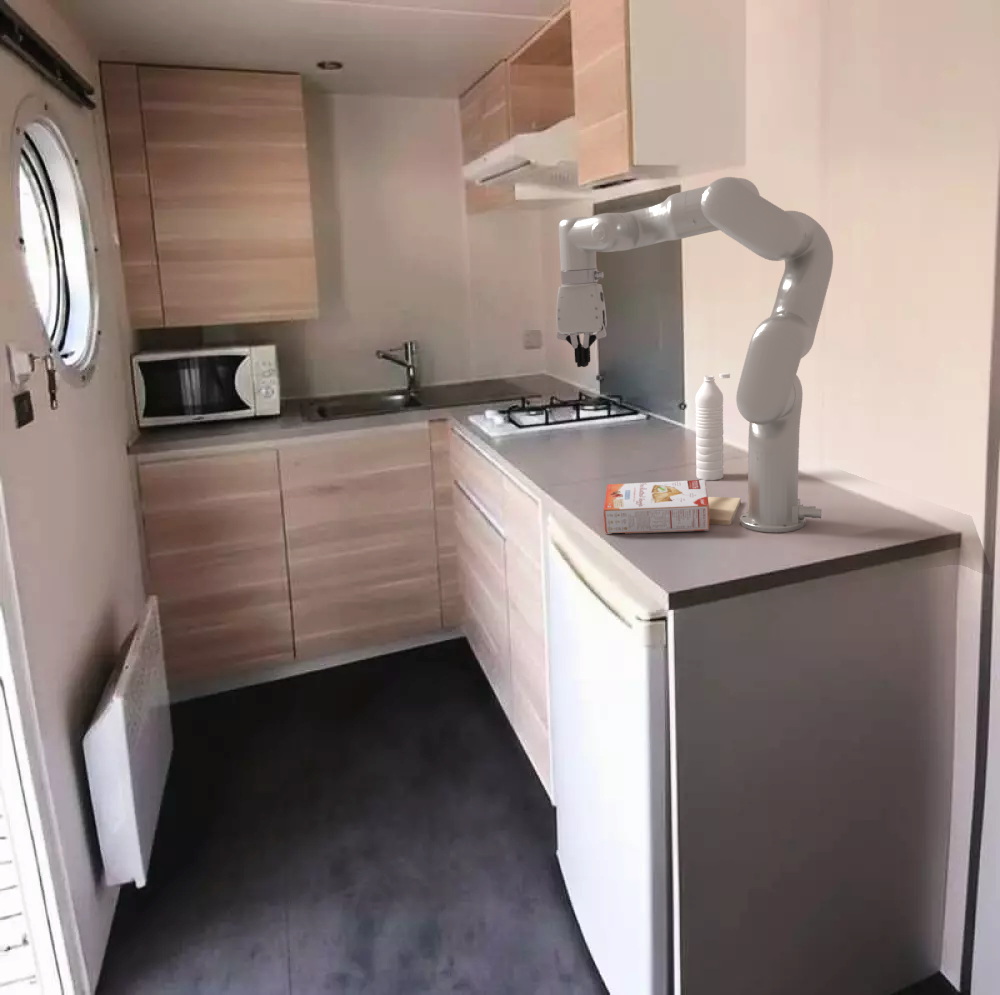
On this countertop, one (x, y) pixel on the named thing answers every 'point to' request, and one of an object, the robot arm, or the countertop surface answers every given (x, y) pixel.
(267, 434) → the countertop surface
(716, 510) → the cutting board
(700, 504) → the cracker box
